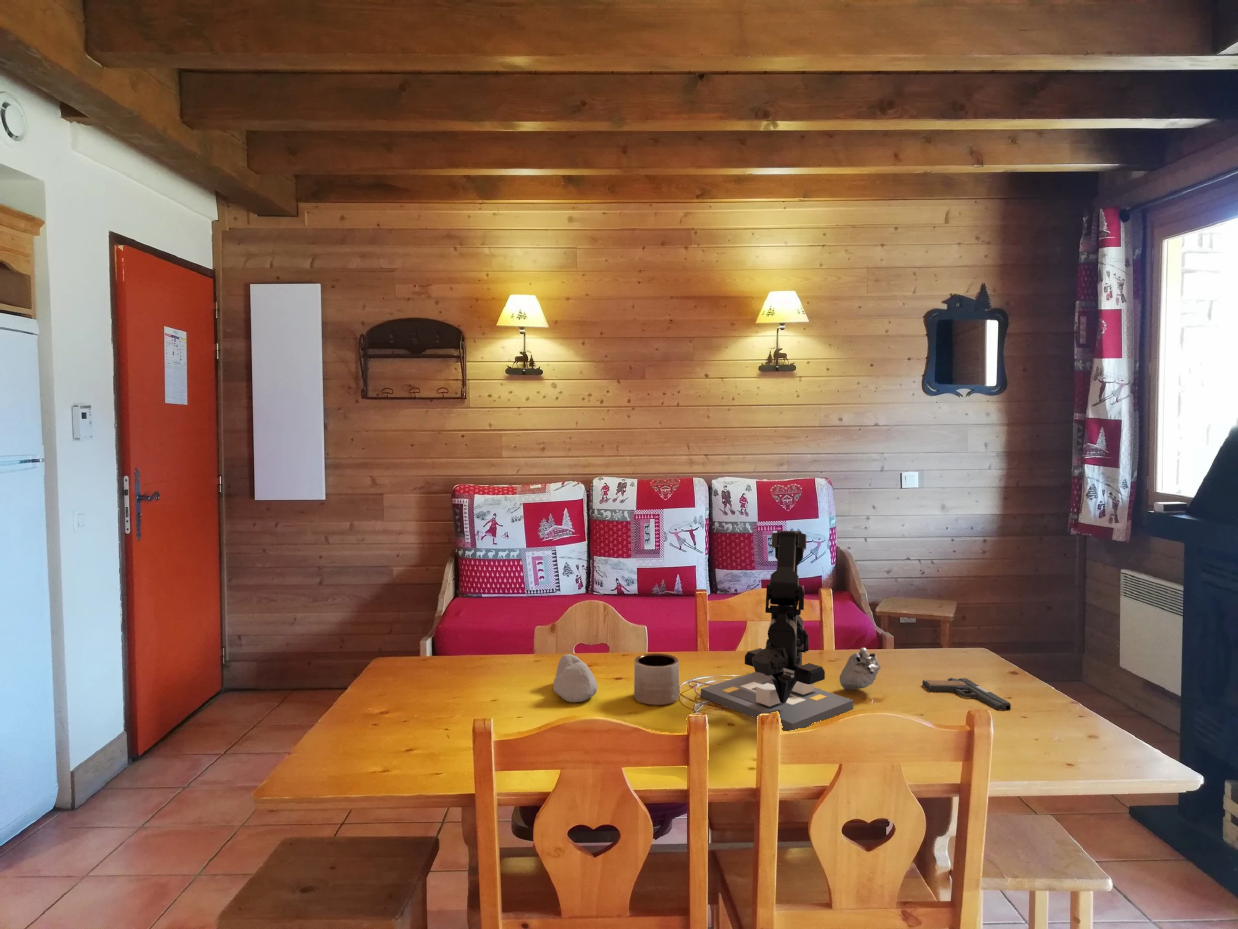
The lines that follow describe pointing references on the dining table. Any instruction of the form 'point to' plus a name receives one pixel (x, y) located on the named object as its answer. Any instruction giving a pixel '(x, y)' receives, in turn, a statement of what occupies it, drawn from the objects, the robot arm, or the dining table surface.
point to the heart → (859, 670)
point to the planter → (656, 679)
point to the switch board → (792, 713)
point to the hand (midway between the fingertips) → (783, 702)
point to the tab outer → (767, 695)
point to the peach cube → (803, 688)
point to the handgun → (967, 691)
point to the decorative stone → (574, 680)
